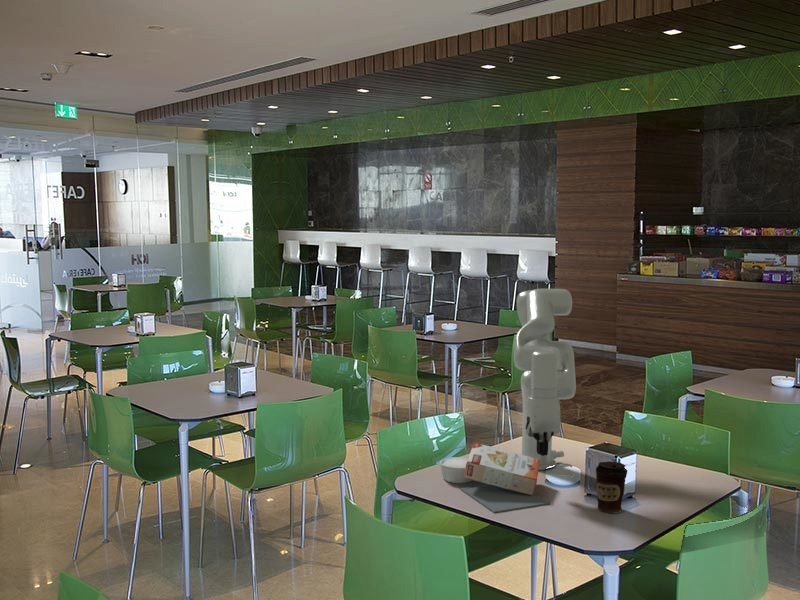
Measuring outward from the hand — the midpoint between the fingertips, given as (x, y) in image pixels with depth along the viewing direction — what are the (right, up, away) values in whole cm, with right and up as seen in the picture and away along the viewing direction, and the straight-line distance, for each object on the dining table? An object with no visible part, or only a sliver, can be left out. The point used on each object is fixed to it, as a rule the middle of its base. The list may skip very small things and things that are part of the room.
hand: (542, 454), depth 230 cm
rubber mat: (-12, -12, -3) cm, 17 cm away
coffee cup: (+16, -13, -13) cm, 25 cm away
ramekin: (-24, -10, +12) cm, 29 cm away
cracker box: (-1, -7, +2) cm, 7 cm away
